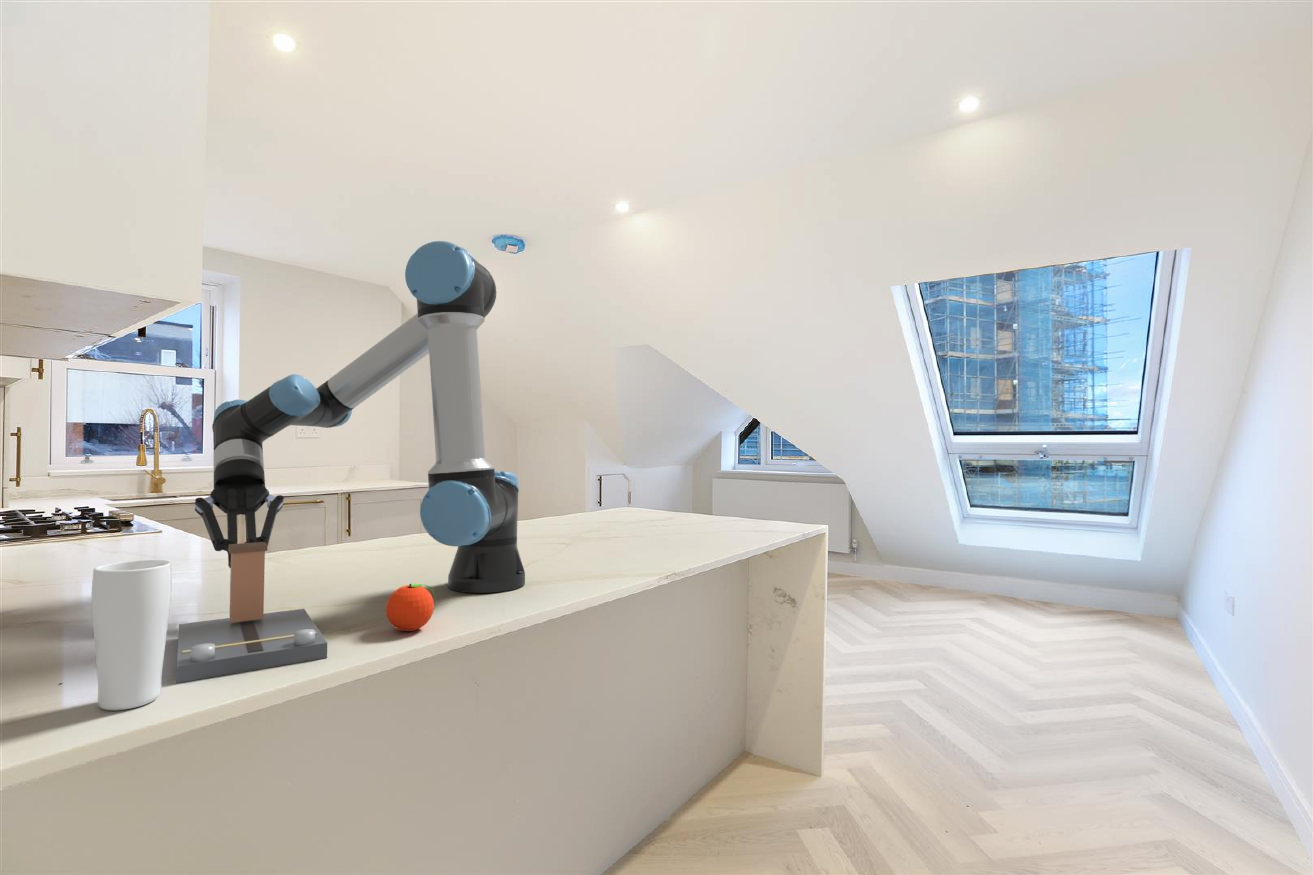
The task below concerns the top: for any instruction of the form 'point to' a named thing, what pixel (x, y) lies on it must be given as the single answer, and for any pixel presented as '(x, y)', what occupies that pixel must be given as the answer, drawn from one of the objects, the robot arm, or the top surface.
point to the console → (247, 644)
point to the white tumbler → (130, 630)
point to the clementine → (410, 607)
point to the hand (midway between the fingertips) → (243, 582)
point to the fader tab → (247, 581)
